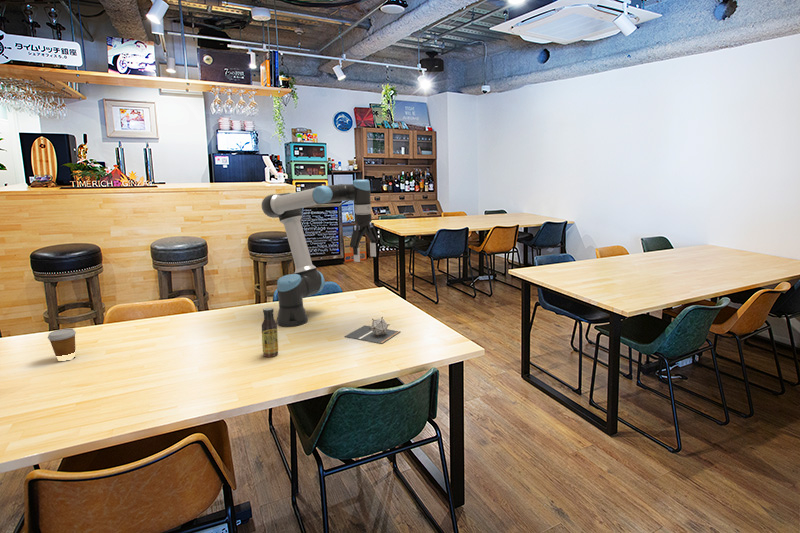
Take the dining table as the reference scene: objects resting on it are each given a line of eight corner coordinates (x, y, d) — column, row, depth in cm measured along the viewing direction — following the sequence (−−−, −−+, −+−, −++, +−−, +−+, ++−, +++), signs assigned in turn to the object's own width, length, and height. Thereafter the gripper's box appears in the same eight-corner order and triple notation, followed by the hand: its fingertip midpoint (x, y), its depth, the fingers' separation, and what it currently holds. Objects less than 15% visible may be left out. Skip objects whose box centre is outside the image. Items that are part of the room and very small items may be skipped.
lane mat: (344, 337, 206) (344, 336, 206) (364, 326, 219) (364, 325, 219) (382, 344, 196) (382, 343, 196) (400, 332, 210) (400, 331, 209)
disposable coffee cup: (85, 355, 194) (80, 329, 192) (63, 364, 185) (57, 336, 183) (69, 353, 197) (64, 327, 195) (47, 362, 188) (41, 334, 186)
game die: (383, 343, 205) (389, 331, 198) (365, 338, 205) (370, 324, 198) (387, 328, 212) (393, 315, 205) (369, 323, 211) (375, 309, 204)
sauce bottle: (264, 359, 184) (260, 312, 180) (261, 353, 190) (257, 308, 186) (281, 355, 187) (276, 309, 183) (277, 350, 193) (273, 305, 189)
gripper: (353, 216, 197) (356, 264, 201) (384, 211, 218) (386, 254, 222) (340, 216, 201) (342, 263, 205) (371, 211, 222) (373, 253, 226)
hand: (365, 259), depth 214 cm, fingers open, 13 cm apart
